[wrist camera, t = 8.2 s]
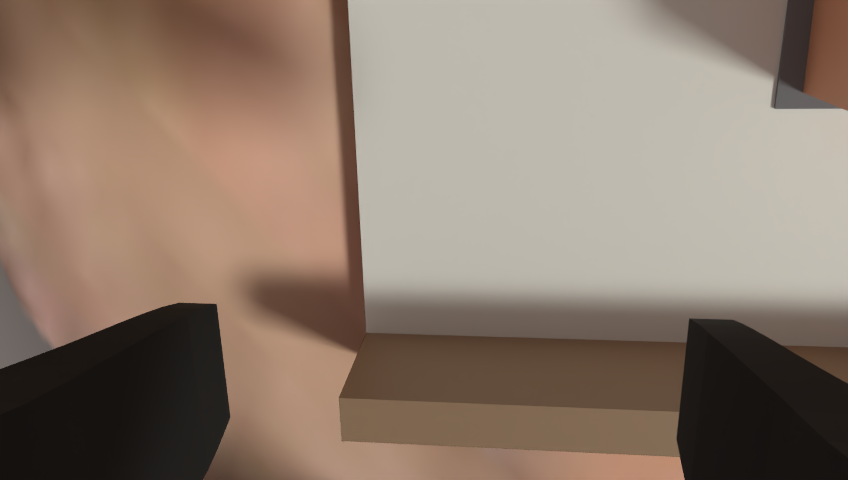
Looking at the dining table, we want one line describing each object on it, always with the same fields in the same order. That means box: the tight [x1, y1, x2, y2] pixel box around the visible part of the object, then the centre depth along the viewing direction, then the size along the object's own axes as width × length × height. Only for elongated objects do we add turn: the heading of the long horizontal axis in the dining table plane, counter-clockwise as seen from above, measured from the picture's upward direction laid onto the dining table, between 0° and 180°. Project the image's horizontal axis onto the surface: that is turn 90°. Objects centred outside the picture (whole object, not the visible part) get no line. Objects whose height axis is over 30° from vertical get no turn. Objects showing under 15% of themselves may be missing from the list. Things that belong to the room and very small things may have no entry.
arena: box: [339, 0, 848, 457], centre depth 16 cm, size 16×20×4 cm
